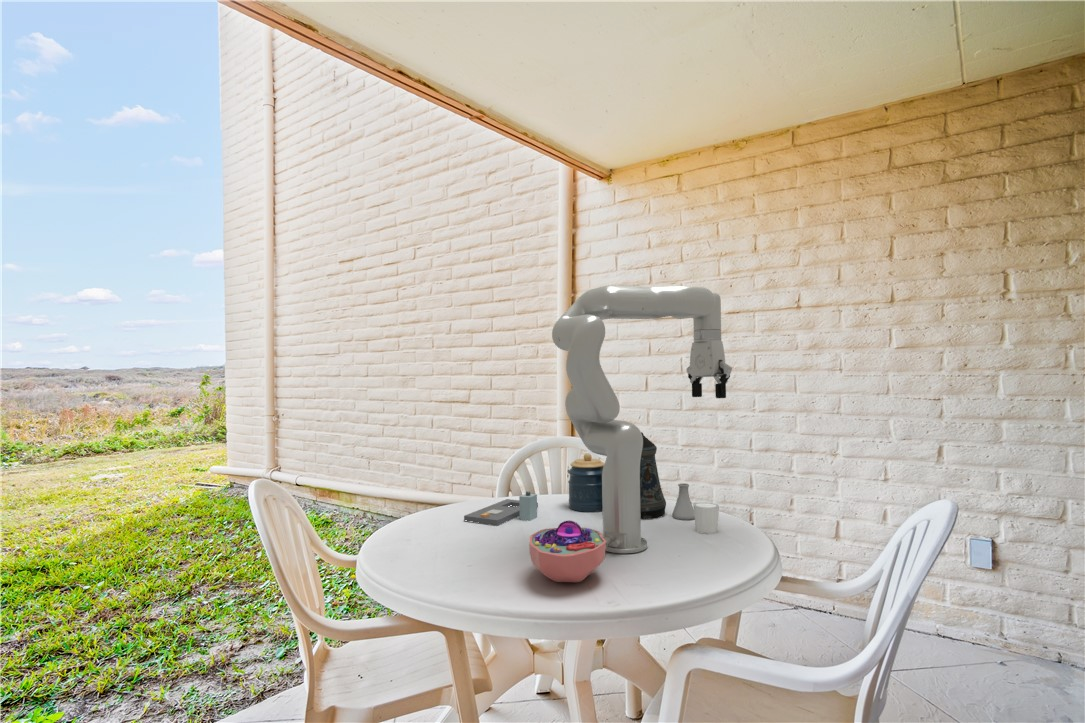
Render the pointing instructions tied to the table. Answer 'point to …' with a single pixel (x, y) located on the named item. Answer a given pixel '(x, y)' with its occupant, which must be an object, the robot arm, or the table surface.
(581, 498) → the canister
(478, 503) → the table surface
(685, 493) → the flask
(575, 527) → the cell model
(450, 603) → the table surface
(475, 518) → the outlet plate
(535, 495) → the block
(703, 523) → the grey cylinder
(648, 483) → the beer stein
